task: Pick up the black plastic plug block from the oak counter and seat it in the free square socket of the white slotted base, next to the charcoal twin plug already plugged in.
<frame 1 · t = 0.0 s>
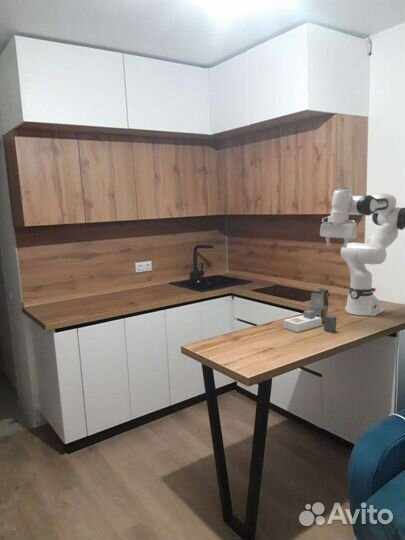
hand: (336, 246, 212), 39 cm above the table, tool pointing down, fingers open, 8 cm apart
white slotted base: (302, 326, 206), on the table
black plug: (329, 330, 200), on the table
coffee box: (318, 320, 218), on the table
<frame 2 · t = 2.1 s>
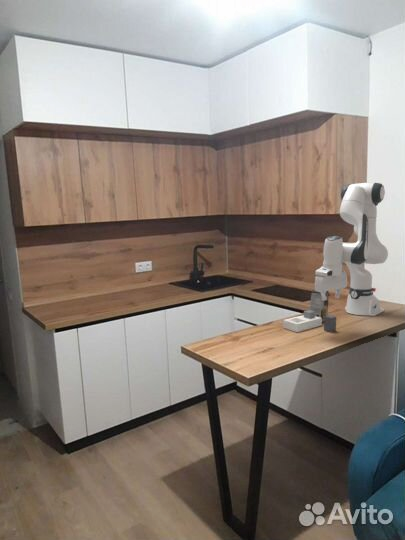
hand: (330, 299, 197), 16 cm above the table, tool pointing down, fingers open, 8 cm apart
nothing on the table moved.
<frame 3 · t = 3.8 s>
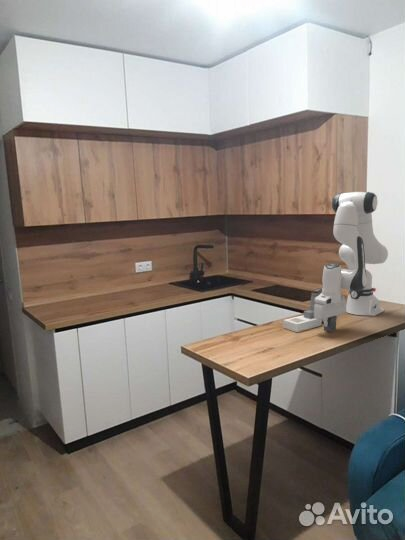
hand: (330, 325, 200), 3 cm above the table, tool pointing down, fingers closed on black plug, 4 cm apart
black plug: (329, 330, 200), on the table, touching gripper
everything else where it was.
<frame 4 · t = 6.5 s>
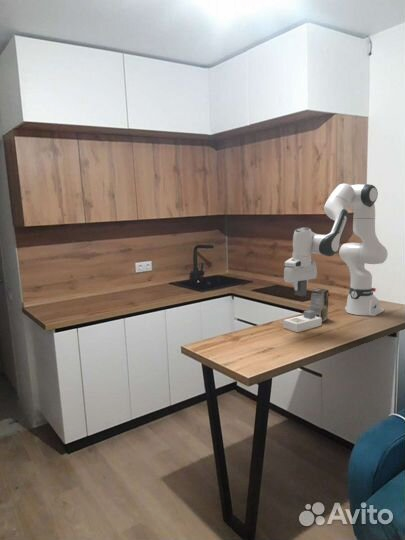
hand: (300, 289, 200), 20 cm above the table, tool pointing down, fingers closed on black plug, 4 cm apart
black plug: (300, 294, 201), point 17 cm above the table, touching gripper
everything else where it was.
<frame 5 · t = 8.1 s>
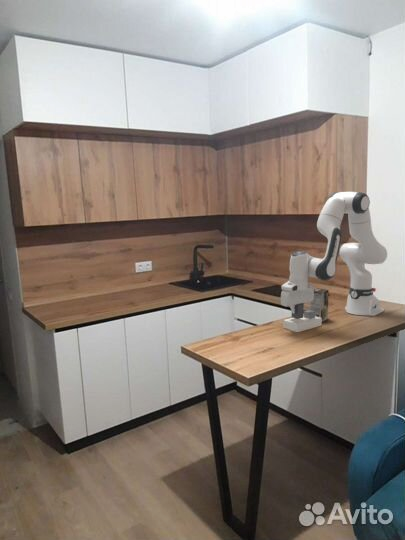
hand: (297, 312, 203), 8 cm above the table, tool pointing down, fingers closed on black plug, 4 cm apart
black plug: (297, 317, 203), point 5 cm above the table, touching gripper
everything else where it was.
when the fingers open (5 cm above the table, at t = 9.4 s): black plug drops 1 cm, resting on white slotted base.
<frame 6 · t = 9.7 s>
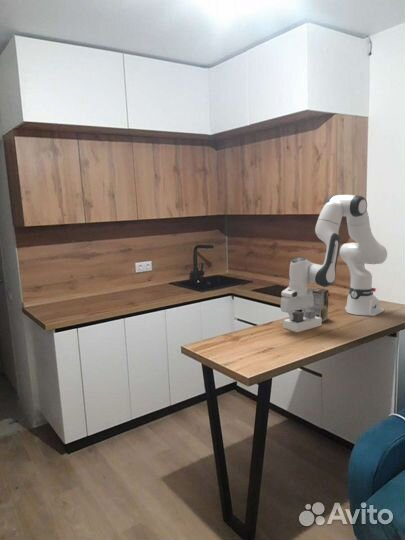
hand: (297, 318, 203), 5 cm above the table, tool pointing down, fingers open, 6 cm apart
black plug: (297, 326, 204), point 1 cm above the table, touching white slotted base
everything else where it was.
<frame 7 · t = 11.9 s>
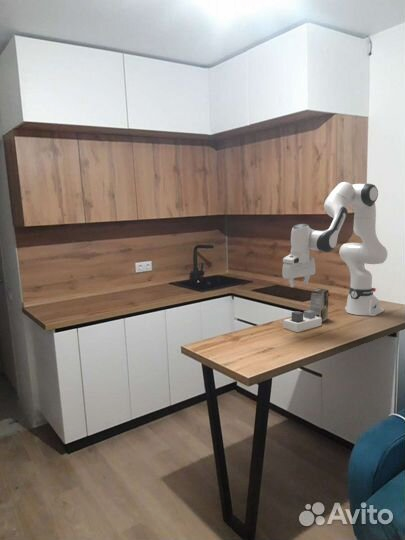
hand: (299, 285, 202), 21 cm above the table, tool pointing down, fingers open, 8 cm apart
nothing on the table moved.
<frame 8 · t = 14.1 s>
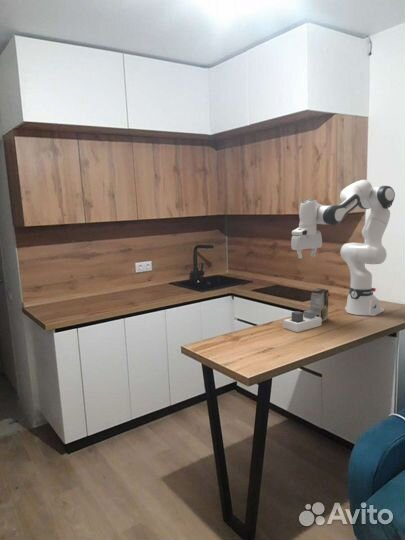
hand: (306, 257, 215), 33 cm above the table, tool pointing down, fingers open, 8 cm apart
nothing on the table moved.
at the end: black plug 0.1 cm from the target spot on the white slotted base, point 1.0 cm above the white slotted base's base; black plug tilted 0°; the gripper is holding nothing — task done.
